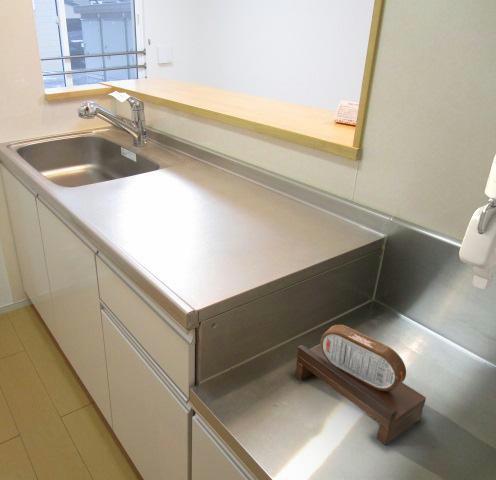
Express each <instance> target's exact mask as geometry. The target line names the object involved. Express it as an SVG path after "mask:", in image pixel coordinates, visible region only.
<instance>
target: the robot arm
mask: <svg viewBox="0 0 496 480" xmlns="http://www.w3.org/2000/svg"><path fill="white" fill-rule="evenodd" d="M492 160H493V161H492V163H491V168H490V171H489V174H488V178H487V181H486V185H485V189H484V195H486V196H487V198H490V199H489V200H487V204H485V205H483V206H480V207H478V208H477V209H476V210H475V212H474V213H473V214H472V217H471V218H470V221H469V223H468V225H467V228H466V231H465V233H464V236H463V239H462V241H461V245H460V248H459V252H458V256H459V260H460V261H461V262H463V263H465V264H467V265H469V266H471V267H472V268H473V279H472V282H471V283H472V286H474V287H475V288H477V289H480V290H484V291H485V290H486V289H487V288H489V287H490V286H492V282H493V280H494V275H492V274H493V270H494V269H495V267H496V154H495V155H494V157H493V159H492Z"/></svg>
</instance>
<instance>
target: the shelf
mask: <svg viewBox="0 0 496 480" xmlns="http://www.w3.org/2000/svg"><path fill="white" fill-rule="evenodd" d="M294 373H295V375H294V376H295V377H296V378H298V379H299V380H300V381H302V380H304V379H305V378H308V377H310V376H312V375H315V376H316V377H317V378H318V379H320V380H321V381H322V382H324V383H325V384H326V385H328V386H329V387H330V388H332V389H333V390H335V391H336V392H337V393H339V394H340V395H342V396H343V397H344V398H346V399H347V400H348V401H350V402H351V403H352V404H354V405H355V406H356V407H358V408H359V409H360V410H362V411H363V412H365V413H366V414H367V415H368V416H370V417H371V418H373V420H375V421H376V422H378V423H379V426H378V430H377V435H376V440H377V441H379V442H380V444H382V445H384V446H385V445H387V444H389V443H391V442H392V440H394V439H396V438H397V437H398V436H399V435H401V434H402V433H404V432H405V431H406V430H408V429H409V428H411V427H412V426H414V425H415V424H416V423H418V422H419V421H420V420H421V418H422V415H423V411H424V408H425V403H426V399H427V397H426V396H424V395H423V394H421V393H420V392H418V391H417V390H415V389H413V388H412V387H410V386H409V385H407V384H405V383H404V382H402V383H400V384H399V385H398V386H397V387H396V388H395V389H393V390H391V391H380V390H376V389H374V388H372V387H370V386H369V385H367V384H365V383H363V382H361V381H359V380H358V379H356V378H354V377H352V376H350V375H349V374H347V373H345V372H343V371H342V370H340V369H338V368H336V367H335V366H333V365H332V364H331V363H330V362H329V361H328V360H327V359H326V357H325V356H324V354H323V352H322V350H321V343H319V344H318V345H315V346H314V347H311V348H308V347H307V346H306V345H303V344H302V345H300V346H298V348H297V356H296V363H295V372H294Z"/></svg>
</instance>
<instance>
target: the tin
mask: <svg viewBox="0 0 496 480" xmlns="http://www.w3.org/2000/svg"><path fill="white" fill-rule="evenodd" d="M320 344H321V350H322V352H323V354H324V356H325V357H326V359H327V360H328V361H329V362H330V363H331V364H332V365H333V366H335V367H336V368H338V369H340V370H342V371H343V372H345V373H347V374H349V375H350V376H352V377H354V378H356V379H358V380H359V381H361V382H363V383H365V384H367V385H369V386H370V387H372V388H374V389H376V390H380V391H391V390H393V389H395V388H396V387H397V386H398V385H399V384H400V383H404V381H405V379H406V377H407V368H406V365H405V362H404V360H403V358H402V357H401V356H400V354H399V353H398V352H396V351H395V350H394V349H393V348H392V347H390V346H389V345H387V344H385V343H382V342H380V341H378V340H376V339H374V338H372V337H370V336H367V335H365V334H364V333H362V332H359V331H357V330H355V329H354V328H351V327H349V326H347V325H344V324H334V325H331V326H330V327H328V329H327V330H326V331H325V332H324V333H323V334H322V335H321V338H320Z"/></svg>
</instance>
